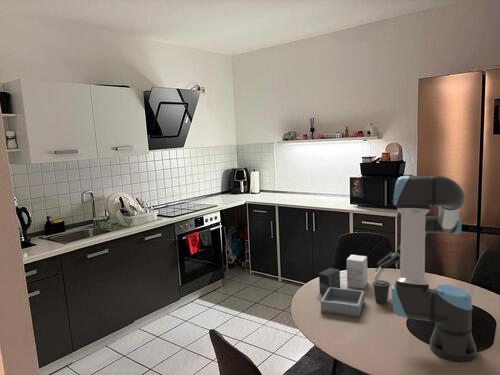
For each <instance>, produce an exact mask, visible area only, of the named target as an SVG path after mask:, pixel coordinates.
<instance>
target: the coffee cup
mask: <svg viewBox="0 0 500 375" xmlns="http://www.w3.org/2000/svg"><path fill="white" fill-rule="evenodd" d="M372 285H373V290H374V299H375V300H374V301H375V303H377V304H378V305H386V304H387V303H388V300H389V292H390V287H391V283H390V282H389V281H386V280H383V279H382V280H379V279H378V280H377V281H376V280H374V281H373V282H372Z"/></svg>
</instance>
